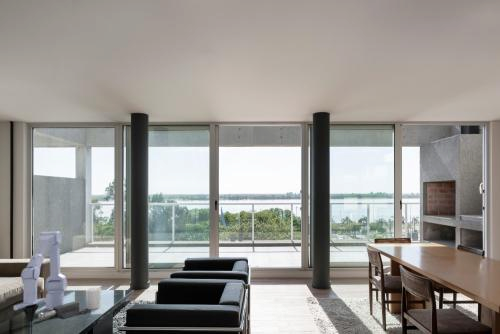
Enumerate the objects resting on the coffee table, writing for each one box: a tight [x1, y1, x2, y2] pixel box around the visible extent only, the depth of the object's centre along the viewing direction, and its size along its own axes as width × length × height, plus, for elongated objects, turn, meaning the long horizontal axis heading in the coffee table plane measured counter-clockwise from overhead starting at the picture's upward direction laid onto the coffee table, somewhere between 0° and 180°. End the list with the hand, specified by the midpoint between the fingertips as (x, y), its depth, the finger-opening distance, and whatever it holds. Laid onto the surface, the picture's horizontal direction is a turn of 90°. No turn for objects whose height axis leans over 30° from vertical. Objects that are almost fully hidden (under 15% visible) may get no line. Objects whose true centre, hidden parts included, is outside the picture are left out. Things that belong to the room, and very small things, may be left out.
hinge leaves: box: [48, 301, 87, 319], centre depth 198 cm, size 12×16×4 cm
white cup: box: [85, 287, 102, 310], centre depth 207 cm, size 8×8×10 cm
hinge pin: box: [37, 310, 57, 321], centre depth 192 cm, size 14×4×4 cm, turn 150°
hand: (30, 321), depth 181 cm, fingers closed
